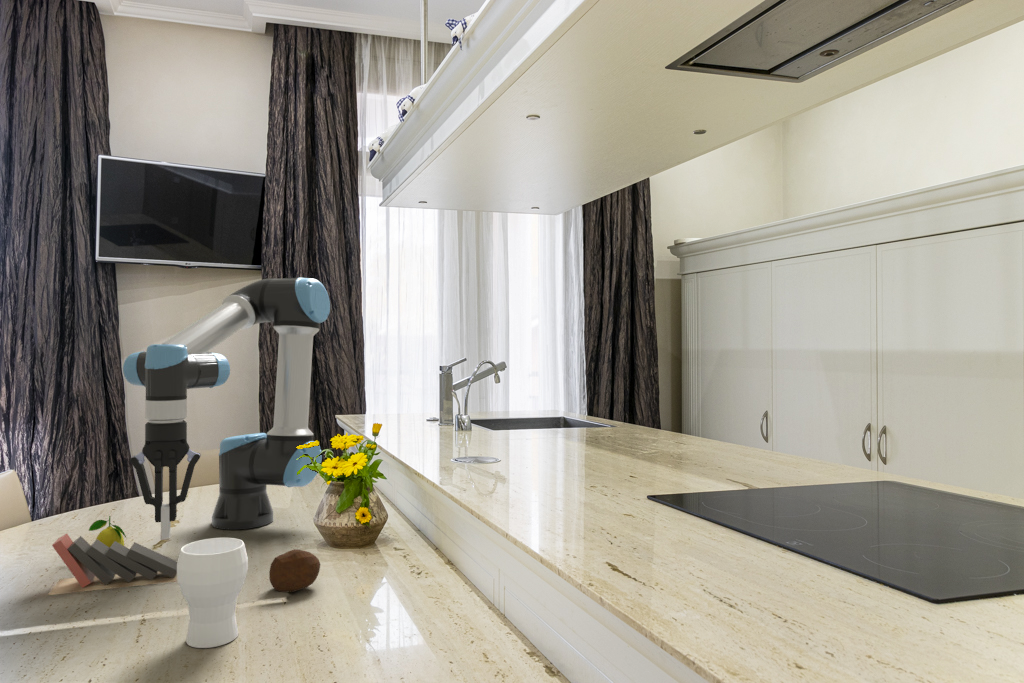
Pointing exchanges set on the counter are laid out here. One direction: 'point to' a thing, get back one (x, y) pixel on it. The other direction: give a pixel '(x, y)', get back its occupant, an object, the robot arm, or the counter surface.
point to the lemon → (108, 533)
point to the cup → (212, 588)
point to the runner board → (117, 582)
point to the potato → (293, 570)
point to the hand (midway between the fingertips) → (165, 537)
